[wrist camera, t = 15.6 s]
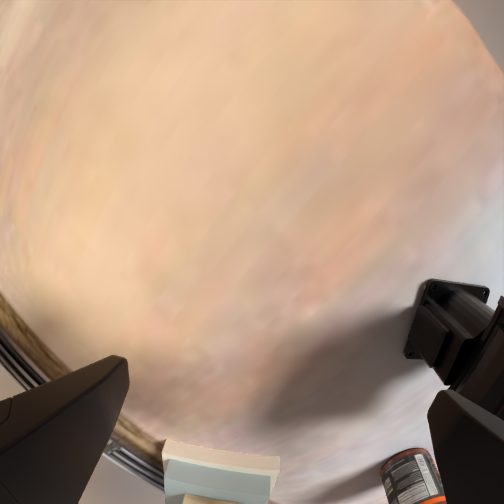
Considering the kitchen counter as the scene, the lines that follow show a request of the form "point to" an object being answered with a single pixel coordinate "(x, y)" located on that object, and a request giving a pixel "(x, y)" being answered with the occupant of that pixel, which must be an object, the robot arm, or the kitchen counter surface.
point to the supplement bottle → (412, 479)
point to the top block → (214, 484)
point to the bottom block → (222, 460)
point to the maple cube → (203, 500)
